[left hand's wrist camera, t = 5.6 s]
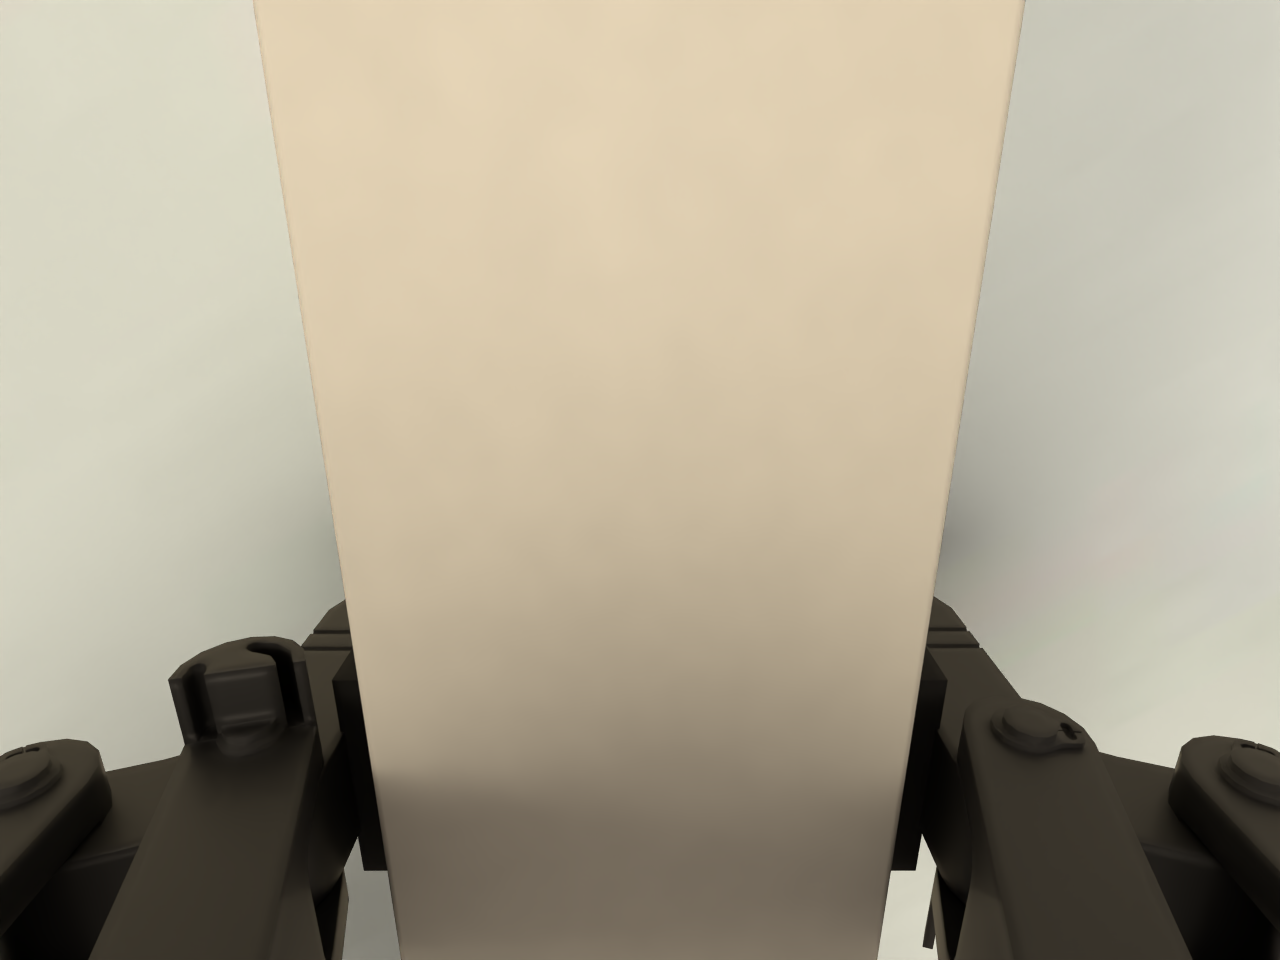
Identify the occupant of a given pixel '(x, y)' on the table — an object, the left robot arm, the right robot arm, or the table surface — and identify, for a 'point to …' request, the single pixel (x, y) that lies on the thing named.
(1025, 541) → the table surface
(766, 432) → the bar
